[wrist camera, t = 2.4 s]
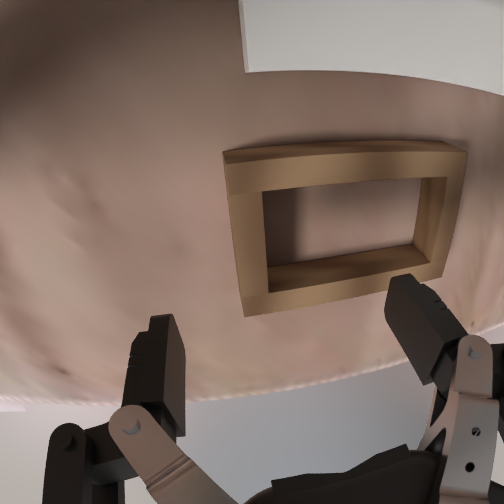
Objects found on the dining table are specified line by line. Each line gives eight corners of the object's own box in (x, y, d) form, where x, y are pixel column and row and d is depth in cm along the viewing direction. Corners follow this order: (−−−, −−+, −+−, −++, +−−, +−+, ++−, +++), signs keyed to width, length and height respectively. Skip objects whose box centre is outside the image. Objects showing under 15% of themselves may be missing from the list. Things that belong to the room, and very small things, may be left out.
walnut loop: (239, 290, 21) (244, 317, 18) (222, 151, 16) (225, 164, 14) (423, 258, 22) (441, 277, 20) (442, 141, 17) (467, 152, 15)
